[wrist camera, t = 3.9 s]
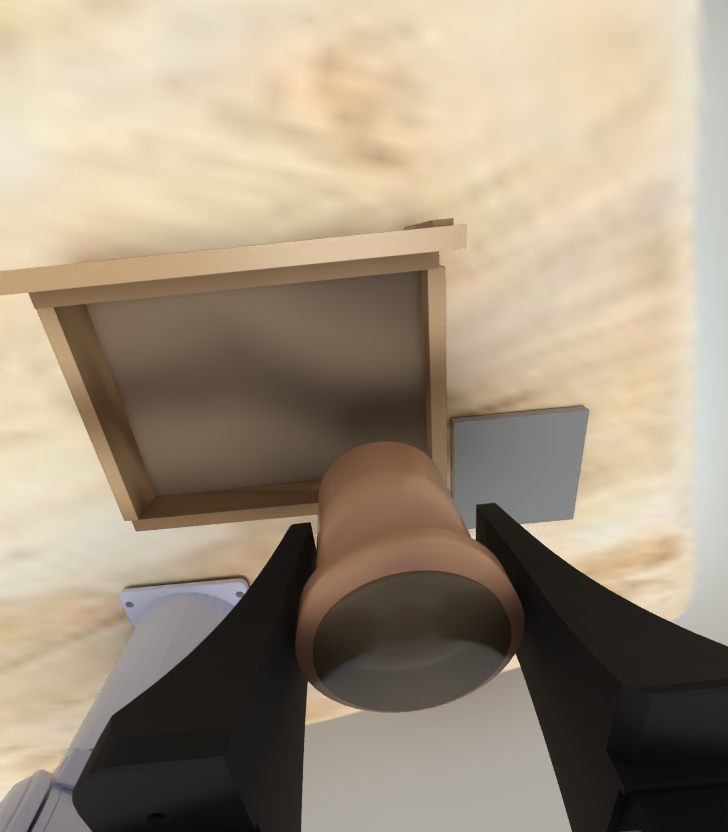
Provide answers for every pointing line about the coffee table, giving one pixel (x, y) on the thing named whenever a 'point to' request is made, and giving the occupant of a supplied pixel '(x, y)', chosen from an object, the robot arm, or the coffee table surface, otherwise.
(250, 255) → the lid
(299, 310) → the cold frame
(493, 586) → the pot
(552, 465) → the tile
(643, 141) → the coffee table surface
